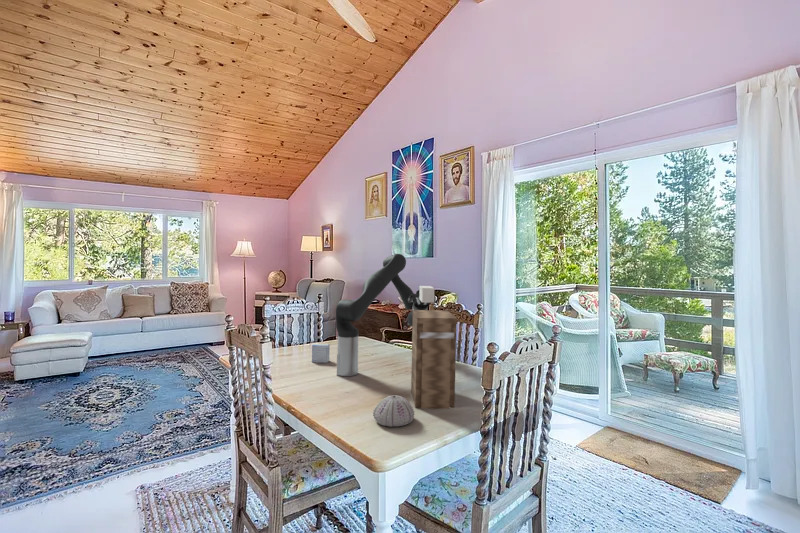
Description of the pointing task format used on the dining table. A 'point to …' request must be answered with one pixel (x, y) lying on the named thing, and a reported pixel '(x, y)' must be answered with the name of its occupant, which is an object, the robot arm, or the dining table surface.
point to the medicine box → (320, 353)
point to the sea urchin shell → (393, 411)
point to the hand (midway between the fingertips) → (424, 291)
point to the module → (426, 294)
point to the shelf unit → (433, 359)
